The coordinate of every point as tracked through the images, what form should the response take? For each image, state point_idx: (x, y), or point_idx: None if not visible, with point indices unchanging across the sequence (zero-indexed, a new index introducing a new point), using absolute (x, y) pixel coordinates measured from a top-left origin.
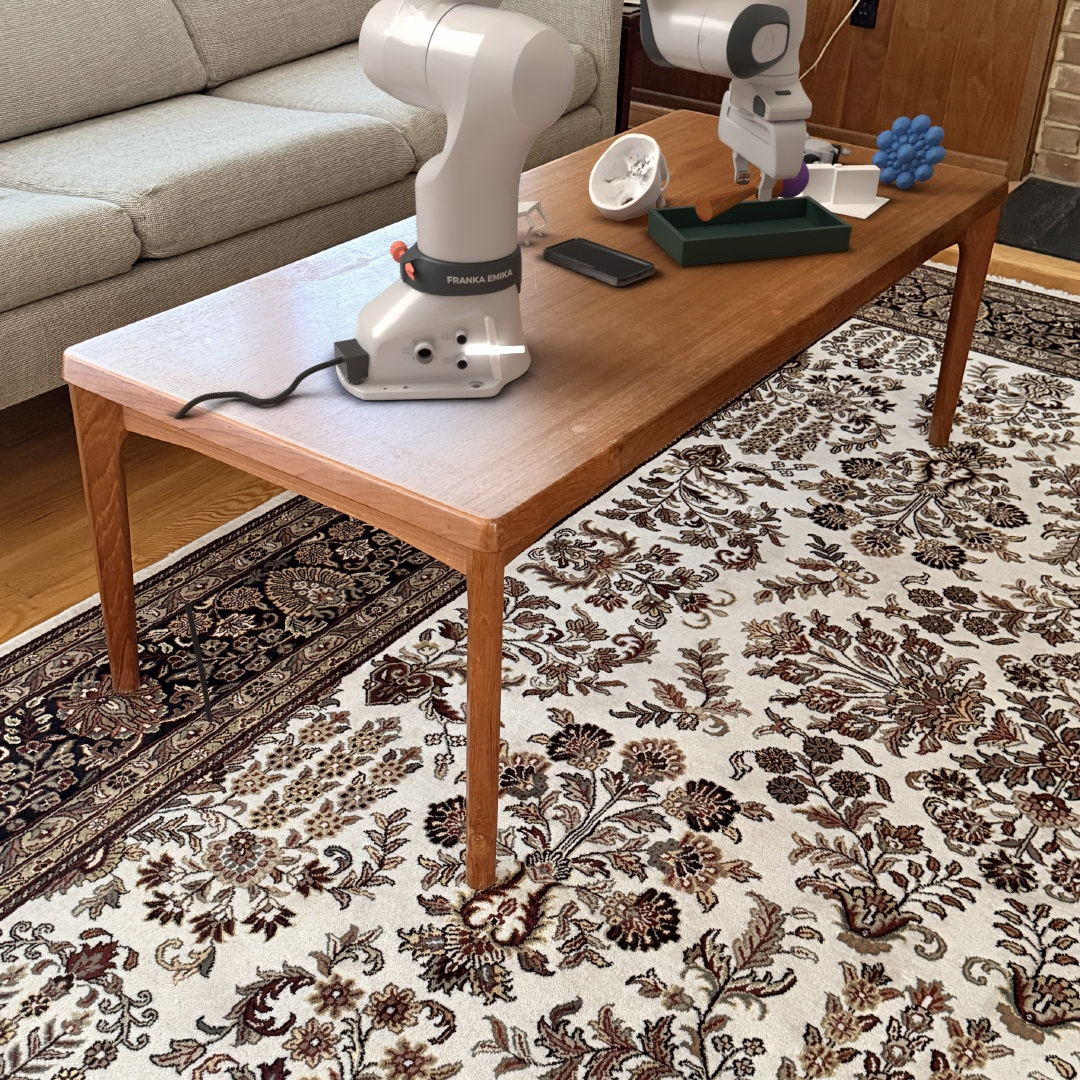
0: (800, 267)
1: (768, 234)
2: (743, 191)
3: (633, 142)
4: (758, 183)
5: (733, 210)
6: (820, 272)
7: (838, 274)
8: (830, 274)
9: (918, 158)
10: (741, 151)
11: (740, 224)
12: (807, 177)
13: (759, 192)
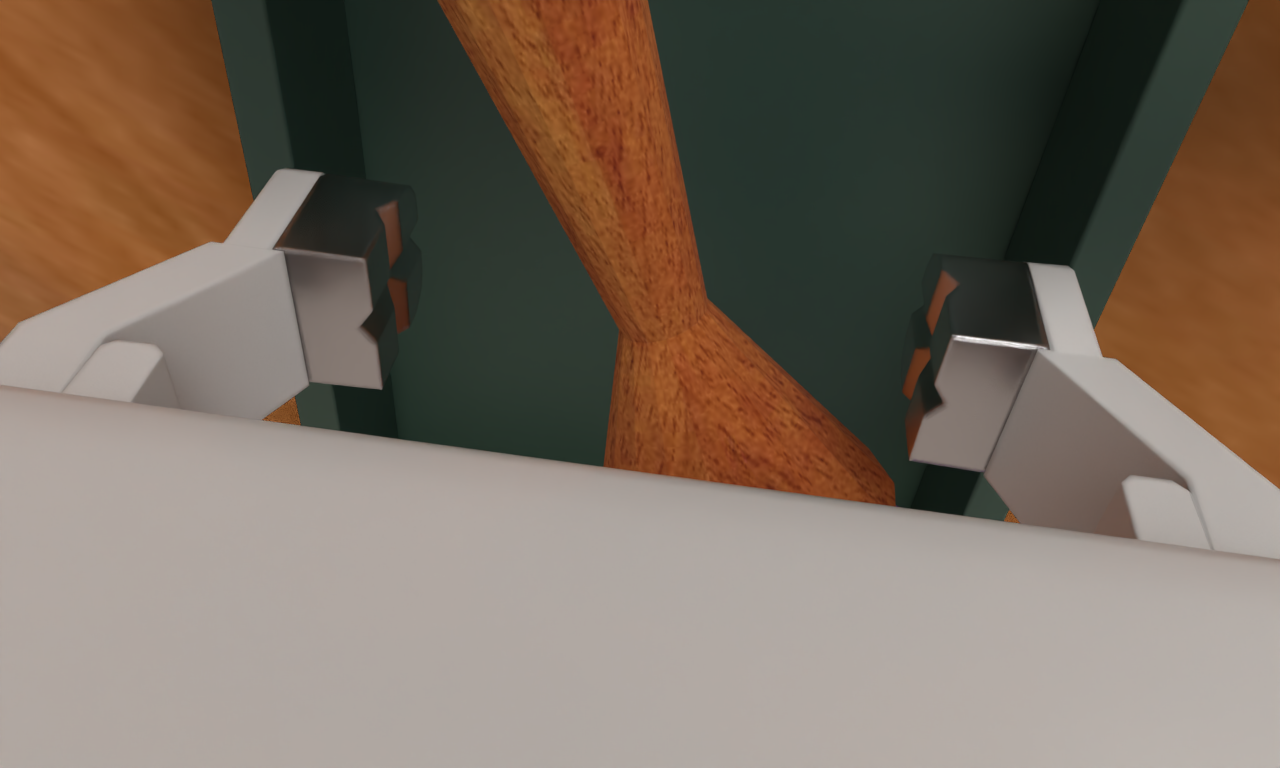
0: (123, 105)
1: (225, 43)
2: (511, 110)
3: None
4: (658, 384)
5: (1091, 142)
6: (37, 175)
7: (12, 250)
8: (7, 210)
9: None
10: (757, 548)
11: (1004, 134)
12: None
13: (263, 216)
